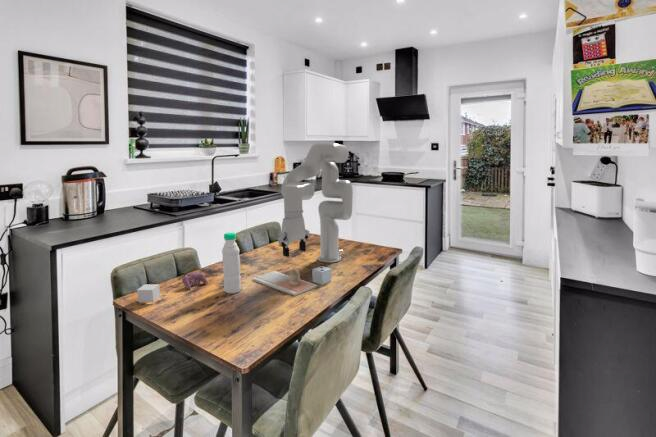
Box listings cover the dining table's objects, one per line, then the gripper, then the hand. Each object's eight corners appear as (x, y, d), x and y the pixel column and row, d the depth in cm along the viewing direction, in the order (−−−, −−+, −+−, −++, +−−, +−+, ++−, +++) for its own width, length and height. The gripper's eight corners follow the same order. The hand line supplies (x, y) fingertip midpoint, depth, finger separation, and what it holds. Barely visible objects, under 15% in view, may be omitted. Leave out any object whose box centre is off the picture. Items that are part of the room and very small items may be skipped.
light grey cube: (160, 298, 157) (159, 284, 156) (153, 304, 151) (152, 289, 150) (145, 298, 157) (144, 284, 156) (138, 304, 151) (136, 289, 150)
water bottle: (224, 294, 160) (220, 236, 155) (224, 288, 167) (220, 232, 162) (241, 293, 162) (239, 234, 157) (240, 286, 169) (238, 230, 164)
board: (274, 272, 186) (274, 270, 186) (316, 286, 168) (316, 284, 168) (252, 280, 177) (252, 277, 176) (295, 295, 159) (295, 293, 159)
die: (321, 278, 179) (321, 265, 178) (331, 281, 175) (331, 268, 174) (312, 281, 175) (312, 268, 174) (322, 285, 171) (322, 271, 170)
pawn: (295, 281, 171) (294, 266, 170) (301, 284, 168) (301, 269, 167) (287, 284, 168) (287, 269, 166) (294, 287, 165) (294, 271, 163)
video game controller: (204, 285, 175) (198, 271, 175) (209, 283, 172) (204, 268, 172) (184, 292, 167) (179, 277, 168) (189, 290, 164) (184, 274, 165)
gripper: (301, 210, 171) (302, 247, 174) (271, 216, 158) (273, 256, 162) (314, 212, 166) (314, 250, 169) (284, 219, 153) (285, 260, 157)
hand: (294, 253), depth 166 cm, fingers open, 9 cm apart
